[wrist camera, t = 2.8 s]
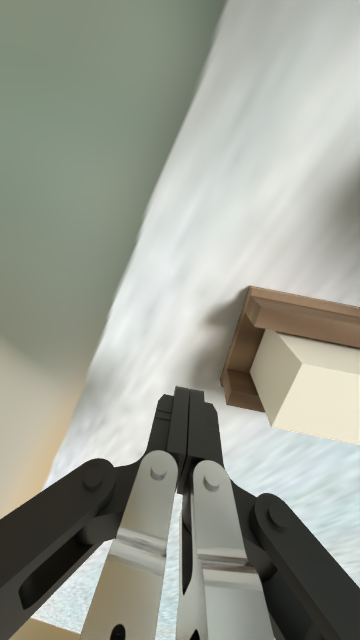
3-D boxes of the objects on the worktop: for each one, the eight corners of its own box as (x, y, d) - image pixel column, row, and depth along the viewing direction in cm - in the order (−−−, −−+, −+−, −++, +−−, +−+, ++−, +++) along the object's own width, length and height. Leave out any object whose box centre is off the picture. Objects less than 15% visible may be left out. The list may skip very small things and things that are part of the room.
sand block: (268, 322, 17) (302, 363, 11) (363, 341, 17) (444, 392, 11) (249, 371, 19) (271, 427, 13) (334, 388, 19) (393, 452, 13)
